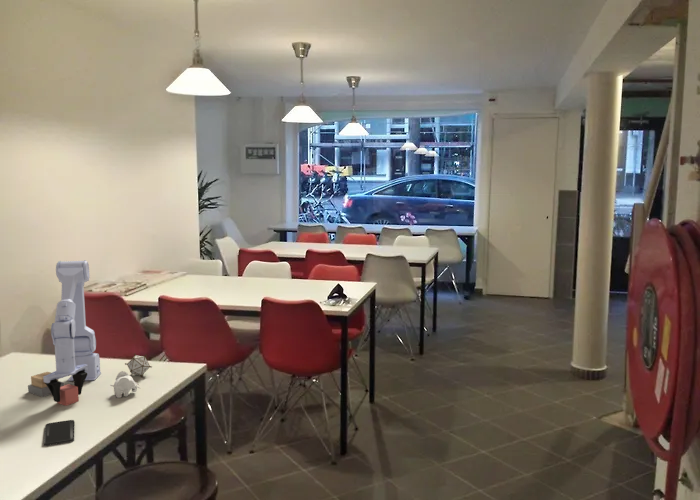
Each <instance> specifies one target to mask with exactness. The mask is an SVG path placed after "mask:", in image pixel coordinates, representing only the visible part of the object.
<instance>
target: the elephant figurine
mask: <svg viewBox="0 0 700 500" xmlns="http://www.w3.org/2000/svg"><path fill="white" fill-rule="evenodd" d="M137 385H138V386H137ZM109 386H110V387H113V393H114V395H115V397H116V398H122V396H123V397H125V398H126V397H129V393H130V391H131V392H132V393H136V392H137V390H138V389H140V387H139V386H140V384H139V383H137V382H136V381H135V380H134V378H133V377H132V376H131V375H129V374H128V372H126V371H123V370H121V371H120V372H118V374H117V375H116V377H115V381H114V384H109Z"/></svg>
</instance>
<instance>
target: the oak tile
mask: <svg viewBox="0 0 700 500" xmlns="http://www.w3.org/2000/svg"><path fill="white" fill-rule="evenodd" d="M50 373H52V372H50V371H45V372H41V373H39V374H35V375H32V376H30V380H31V381H30V382H31V384H32V385H33V386H37V387H40V388H44V387H47V385H46V384H45V382H44V379H43V376H46V375H48V374H50ZM57 381H59V379H57ZM31 384H30V385H31Z"/></svg>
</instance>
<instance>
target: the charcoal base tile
mask: <svg viewBox="0 0 700 500" xmlns="http://www.w3.org/2000/svg"><path fill="white" fill-rule="evenodd" d="M58 382H60V383H61V386H60V387H62V386H65V382H63V381H59V380H58ZM27 389H28V390H27V391H28V393H30V394H31V395H32V394H33V395H34V396H39V397H41V398H44V397H46V396H49V395H52V394H51V391H50V390H49V388H48V387H44V388H40V387H37V386H33V385H32V384H28V385H27Z"/></svg>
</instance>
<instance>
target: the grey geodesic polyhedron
mask: <svg viewBox="0 0 700 500" xmlns="http://www.w3.org/2000/svg"><path fill="white" fill-rule="evenodd" d="M124 365H125V366H127V367H128V370H129V373H130V376H131V377H132V376H134V375H135V376H139V377H140V378H143V375H144V374H145V373H146V372H147V371H148V370H149V369H150V368H151V369H152V368H153V366H152V365H150V363H149V361H148V359H147V354H145V355H137V354H136V353H134V356H133V357H131V359H130V360H129V361H128V362H125V363H124Z"/></svg>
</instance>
